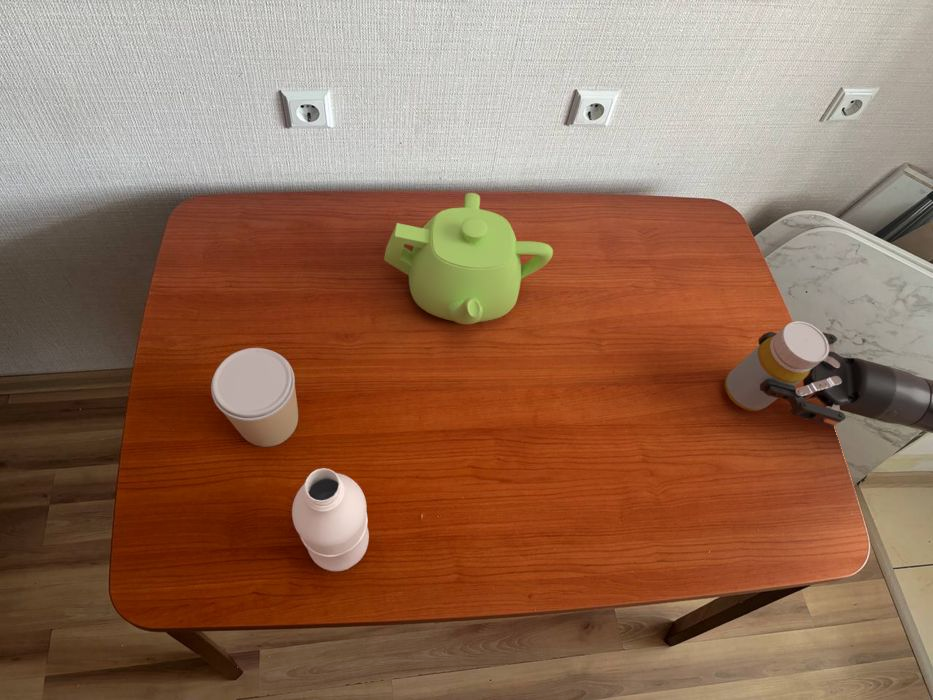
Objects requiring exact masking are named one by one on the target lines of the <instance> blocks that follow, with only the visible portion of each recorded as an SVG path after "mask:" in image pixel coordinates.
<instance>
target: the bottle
mask: <svg viewBox="0 0 933 700" xmlns="http://www.w3.org/2000/svg"><path fill="white" fill-rule="evenodd" d="M822 332H823V331H821V330H820V329H819V328H817V326H815V325H813V324H812V323H808V322H805V321H802V320H795V321H791V322H789V323H787V324H786V325H785V326H783V327H782V328H781V329H780V330H779V331H778V332H776V333H777V334H776V335H775V336H773V337H770V338H768V339H766V340H765V341H764V342H762V343H761V344H760V345H759V344H758V346H757V347H756V348H754V350H752V351H751V352H750V353H749V354H748V355H747V356H746V357H745V358H743V360H741V361H740V363H738V364H737V365H736V366H735V367H734V368H733V369H731V371H729V373H728V374H727V375H726V377H725V379H724V388H725V391H726V394H727V396H728V397H729V399H730V400H731V401H732V402H733V403H734V404H735V405H736V406H738V407H739V408H742V409H743V410H746V411H750V412H758V411H761V410H763V409H765V408H767V407H769V406H770V405H771V404H772V403H773V402H775V401H776V400H778V399H779V398H776V397H773V396H768V395H767V394H765V393H764V392H763V391H761V390H760V384H761V383H763V382H764V381H765V380H767V379H771V380H774V381H778V382H781V383H785V384H789V385H793V386H794V387H795V386H797V385H798V384H799V383H801V382H803V380H804V378H805V377H806V376H807V375H808V374H809V372H810V370H811V369H812V368H813V367H815V366H816V365H818V364H819V363H820V362H822V361H823V360H824V359H825V358H826V357H827V355H828V353H829V344H828V341H827V339H826V337H825V336H824V334H823V333H822Z"/></svg>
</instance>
